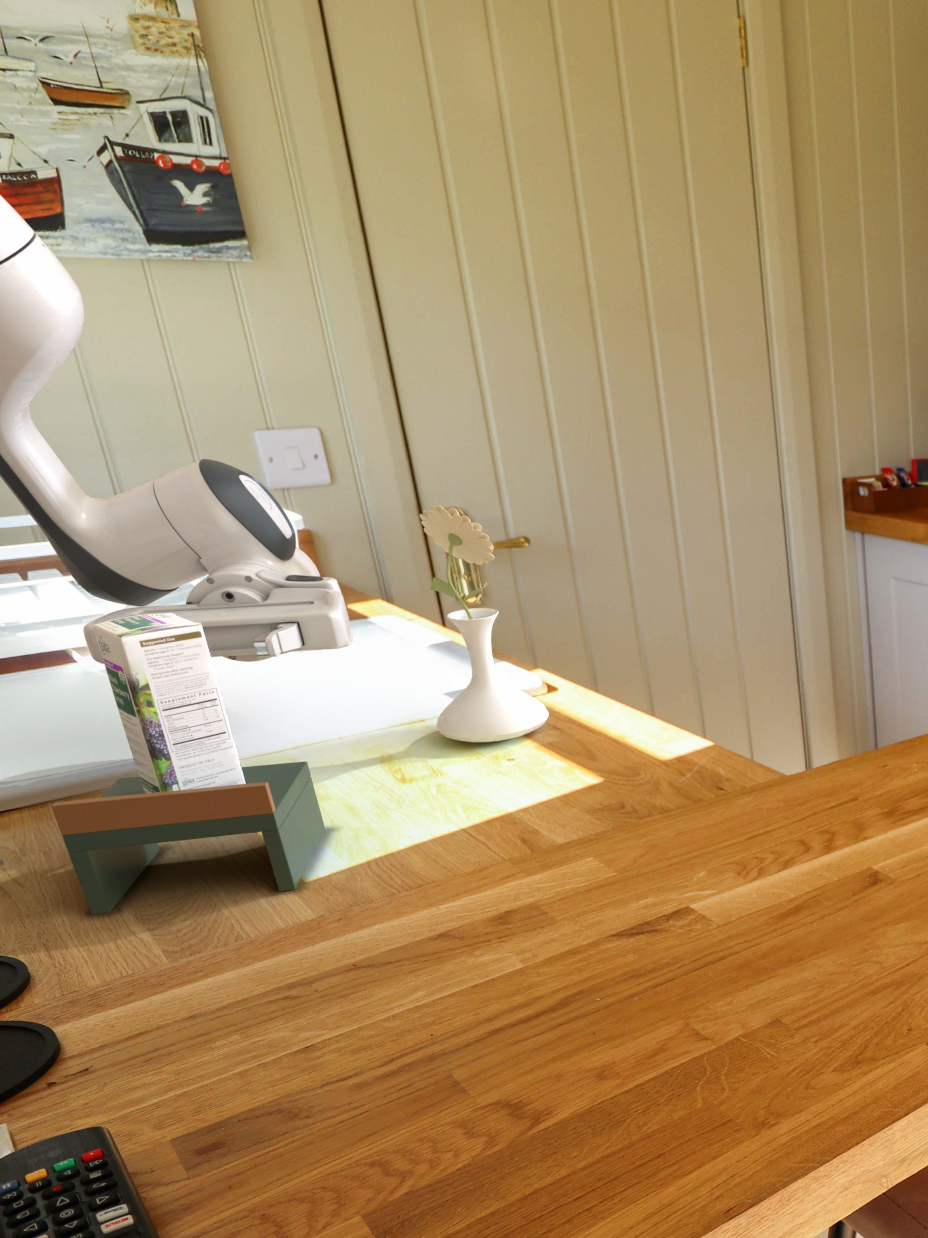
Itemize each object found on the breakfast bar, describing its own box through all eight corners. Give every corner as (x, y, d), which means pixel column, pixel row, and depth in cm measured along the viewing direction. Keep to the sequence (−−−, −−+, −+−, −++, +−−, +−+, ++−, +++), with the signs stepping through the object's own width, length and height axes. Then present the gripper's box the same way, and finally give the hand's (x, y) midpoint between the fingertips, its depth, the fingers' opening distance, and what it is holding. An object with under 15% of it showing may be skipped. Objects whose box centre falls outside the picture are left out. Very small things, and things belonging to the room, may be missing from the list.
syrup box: (141, 793, 96) (84, 623, 90) (221, 772, 101) (172, 608, 95) (171, 810, 93) (114, 635, 87) (252, 787, 98) (203, 620, 92)
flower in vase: (570, 732, 131) (532, 508, 121) (468, 759, 123) (419, 522, 113) (513, 706, 138) (474, 493, 128) (414, 730, 130) (363, 505, 120)
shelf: (91, 915, 92) (50, 805, 88) (143, 851, 102) (109, 751, 98) (295, 890, 96) (265, 785, 92) (326, 831, 106) (300, 734, 102)
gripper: (106, 588, 109) (44, 626, 97) (354, 576, 115) (324, 610, 103) (127, 653, 111) (69, 697, 99) (368, 637, 118) (341, 677, 106)
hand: (201, 652), depth 101 cm, fingers open, 8 cm apart
